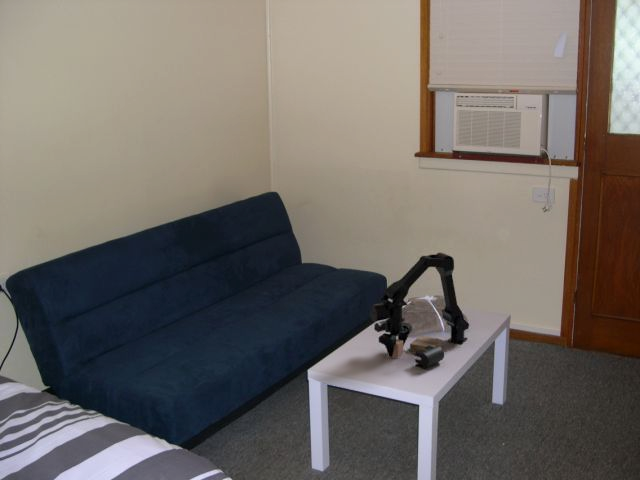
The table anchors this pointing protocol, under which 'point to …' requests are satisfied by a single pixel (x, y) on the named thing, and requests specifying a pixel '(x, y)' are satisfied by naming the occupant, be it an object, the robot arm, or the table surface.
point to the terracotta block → (398, 349)
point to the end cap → (429, 356)
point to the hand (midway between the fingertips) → (395, 352)
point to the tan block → (424, 343)
